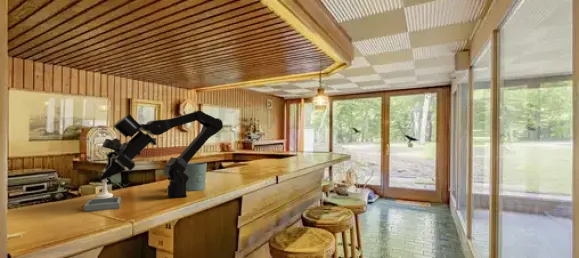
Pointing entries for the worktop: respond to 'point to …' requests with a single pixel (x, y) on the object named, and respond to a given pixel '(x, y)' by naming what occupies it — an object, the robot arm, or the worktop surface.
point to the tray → (102, 204)
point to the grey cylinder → (196, 176)
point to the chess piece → (104, 190)
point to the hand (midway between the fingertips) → (100, 178)
